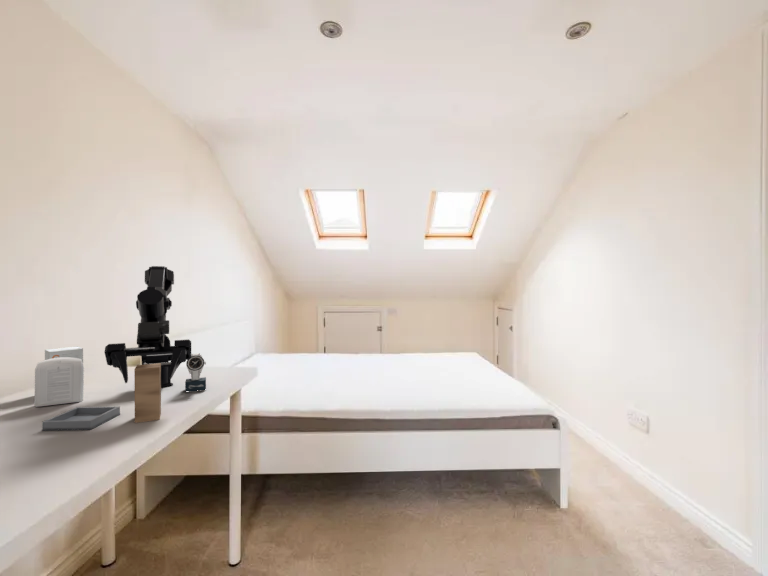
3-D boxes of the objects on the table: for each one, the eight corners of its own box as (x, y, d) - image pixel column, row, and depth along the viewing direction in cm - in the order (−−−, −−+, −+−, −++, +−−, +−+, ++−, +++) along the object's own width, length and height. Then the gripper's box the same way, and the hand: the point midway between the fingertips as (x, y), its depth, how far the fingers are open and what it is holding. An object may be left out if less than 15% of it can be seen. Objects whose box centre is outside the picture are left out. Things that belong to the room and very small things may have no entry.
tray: (77, 415, 95) (77, 407, 95) (119, 414, 95) (119, 406, 95) (42, 430, 85) (42, 421, 85) (90, 430, 85) (90, 420, 85)
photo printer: (84, 398, 109) (84, 354, 109) (83, 402, 106) (82, 357, 106) (36, 404, 104) (35, 358, 104) (32, 408, 100) (32, 361, 100)
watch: (184, 394, 113) (184, 356, 113) (186, 387, 121) (186, 352, 120) (205, 392, 115) (205, 355, 115) (206, 385, 123) (206, 351, 123)
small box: (78, 387, 121) (78, 345, 121) (83, 391, 117) (83, 348, 117) (44, 393, 115) (44, 349, 115) (48, 397, 111) (48, 351, 110)
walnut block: (137, 416, 94) (137, 365, 94) (160, 413, 96) (160, 363, 96) (134, 422, 90) (134, 369, 90) (159, 419, 92) (159, 367, 92)
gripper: (105, 311, 95) (96, 364, 85) (191, 309, 103) (191, 357, 93) (111, 339, 102) (103, 391, 92) (191, 335, 110) (191, 382, 100)
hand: (148, 380), depth 94 cm, fingers open, 9 cm apart
